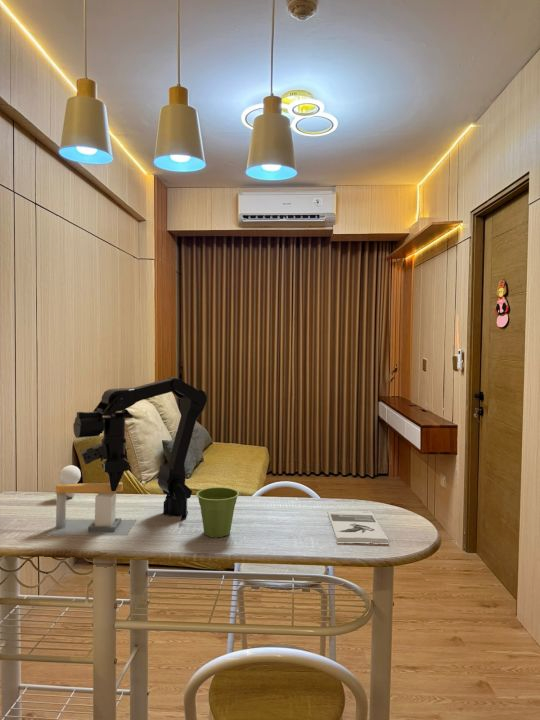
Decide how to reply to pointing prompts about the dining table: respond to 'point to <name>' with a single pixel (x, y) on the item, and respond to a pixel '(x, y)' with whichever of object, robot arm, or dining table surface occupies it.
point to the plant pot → (217, 510)
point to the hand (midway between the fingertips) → (113, 491)
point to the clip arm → (86, 488)
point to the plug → (105, 509)
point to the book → (356, 527)
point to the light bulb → (70, 477)
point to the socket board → (85, 523)
